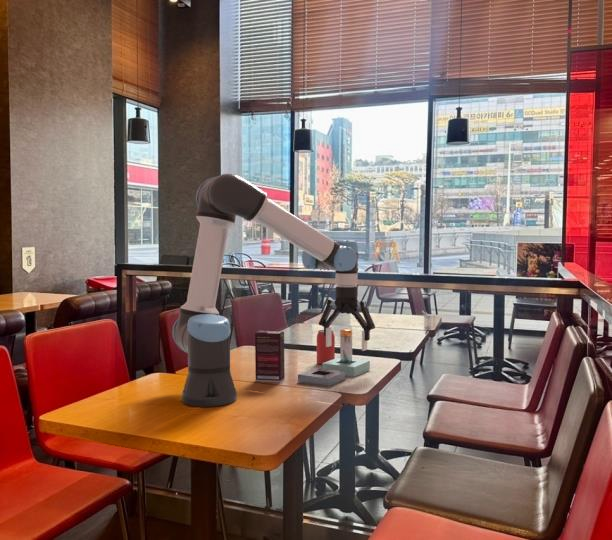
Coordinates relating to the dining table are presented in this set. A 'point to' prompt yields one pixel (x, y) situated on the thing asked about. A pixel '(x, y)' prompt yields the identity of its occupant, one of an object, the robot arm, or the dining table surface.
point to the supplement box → (269, 356)
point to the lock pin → (346, 346)
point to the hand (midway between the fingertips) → (346, 348)
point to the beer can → (324, 348)
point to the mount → (321, 377)
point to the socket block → (348, 366)
